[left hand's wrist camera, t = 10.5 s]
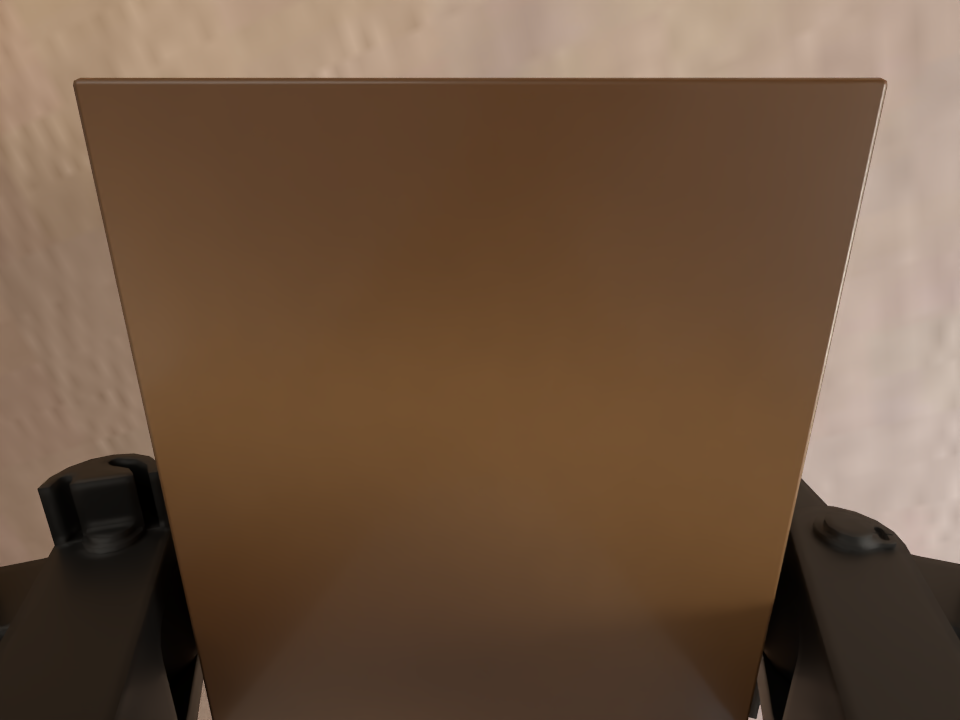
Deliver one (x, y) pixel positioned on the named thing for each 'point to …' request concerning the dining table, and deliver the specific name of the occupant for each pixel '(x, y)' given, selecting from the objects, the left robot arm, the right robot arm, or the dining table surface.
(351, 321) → the brown wooden beam
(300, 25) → the dining table surface
